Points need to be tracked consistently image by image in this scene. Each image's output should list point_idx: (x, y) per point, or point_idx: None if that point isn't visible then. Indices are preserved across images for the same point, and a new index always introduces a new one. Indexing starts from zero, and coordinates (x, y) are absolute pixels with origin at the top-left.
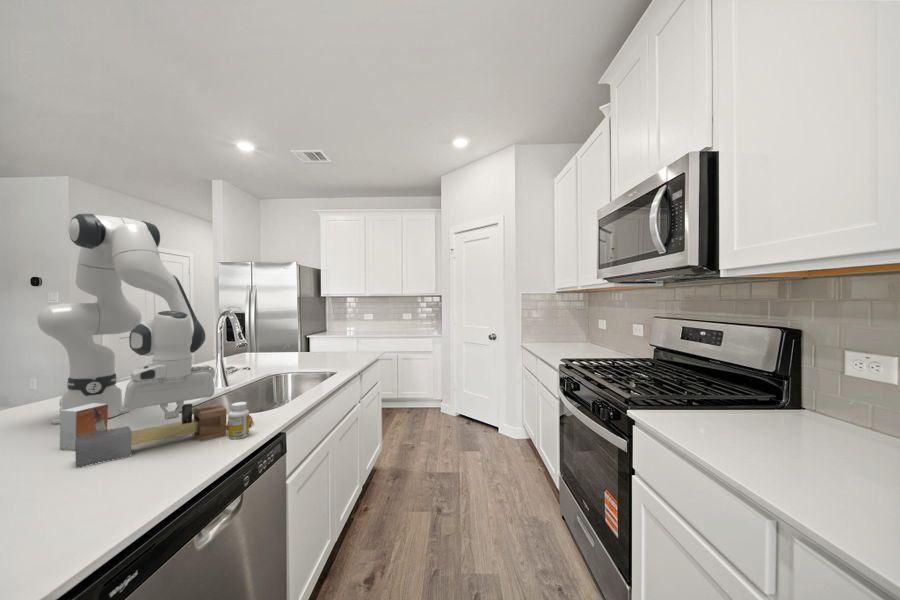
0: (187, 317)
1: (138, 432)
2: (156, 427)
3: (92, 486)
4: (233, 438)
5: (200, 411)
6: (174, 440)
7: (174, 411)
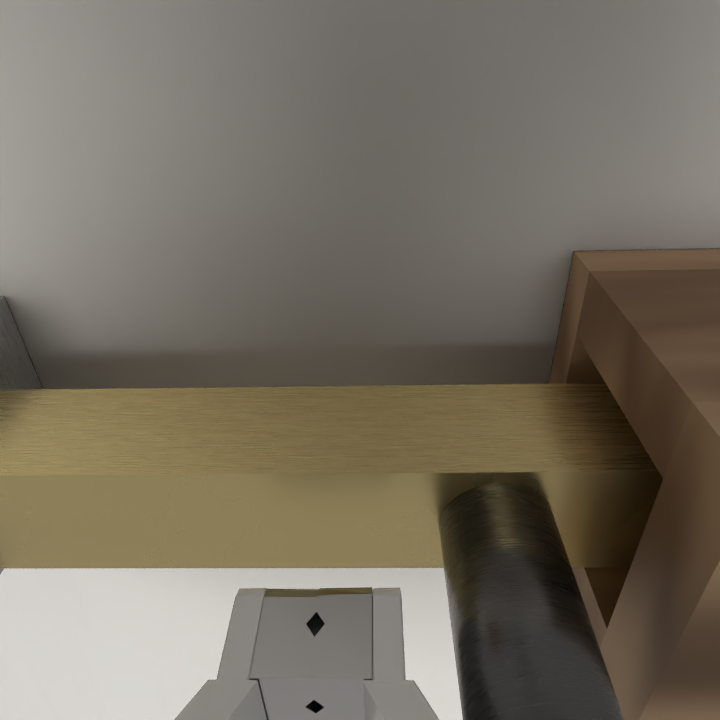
0: None
1: (15, 557)
2: (172, 514)
3: (4, 686)
4: None
5: (668, 705)
6: (377, 315)
7: (349, 713)
